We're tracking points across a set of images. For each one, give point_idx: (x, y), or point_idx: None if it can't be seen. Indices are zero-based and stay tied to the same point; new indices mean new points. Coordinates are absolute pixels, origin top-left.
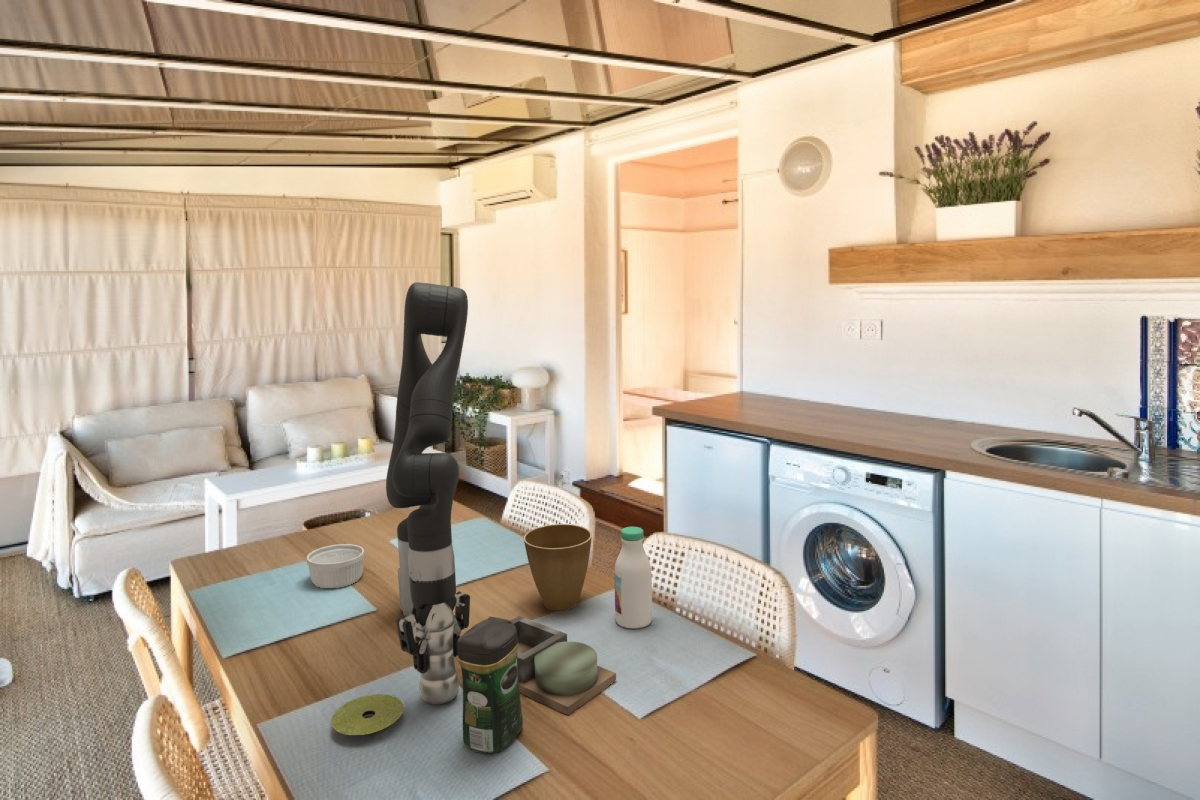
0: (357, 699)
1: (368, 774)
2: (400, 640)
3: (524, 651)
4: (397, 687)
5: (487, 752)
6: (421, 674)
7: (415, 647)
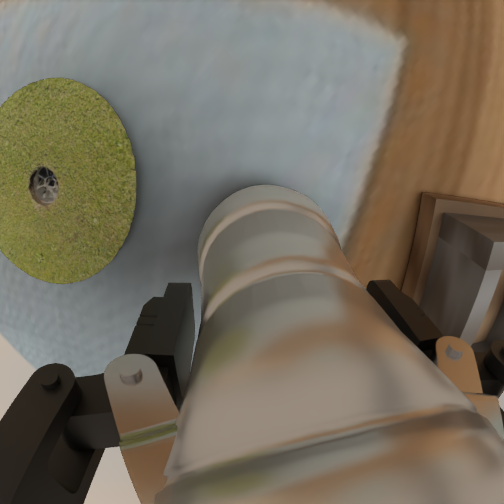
0: (55, 86)
1: (17, 324)
2: (3, 432)
3: (499, 278)
4: (222, 65)
5: None
6: (206, 256)
7: (98, 458)
